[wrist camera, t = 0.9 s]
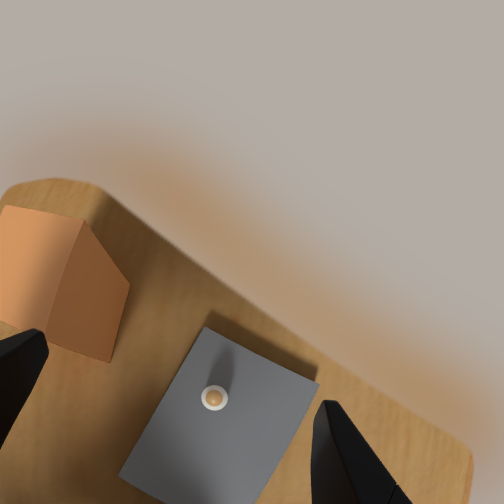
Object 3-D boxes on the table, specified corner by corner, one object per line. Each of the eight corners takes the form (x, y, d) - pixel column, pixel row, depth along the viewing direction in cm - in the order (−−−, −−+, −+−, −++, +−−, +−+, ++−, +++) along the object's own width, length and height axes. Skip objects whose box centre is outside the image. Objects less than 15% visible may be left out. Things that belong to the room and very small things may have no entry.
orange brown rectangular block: (110, 363, 21) (42, 339, 12) (43, 339, 21) (-35, 302, 12) (130, 285, 23) (84, 219, 14) (65, 268, 23) (5, 204, 14)
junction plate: (232, 526, 16) (236, 552, 12) (123, 471, 17) (103, 486, 13) (313, 385, 22) (334, 382, 17) (205, 330, 23) (202, 315, 19)
